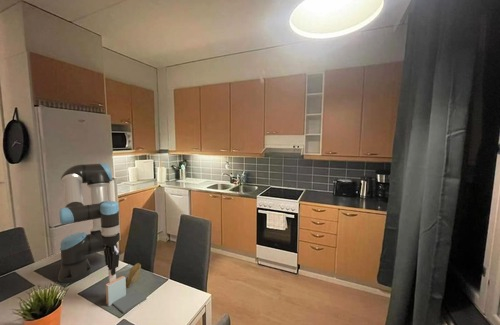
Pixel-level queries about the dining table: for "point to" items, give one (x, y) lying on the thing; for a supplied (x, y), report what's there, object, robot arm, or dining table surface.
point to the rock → (133, 275)
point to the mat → (129, 301)
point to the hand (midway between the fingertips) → (112, 280)
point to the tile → (115, 290)
